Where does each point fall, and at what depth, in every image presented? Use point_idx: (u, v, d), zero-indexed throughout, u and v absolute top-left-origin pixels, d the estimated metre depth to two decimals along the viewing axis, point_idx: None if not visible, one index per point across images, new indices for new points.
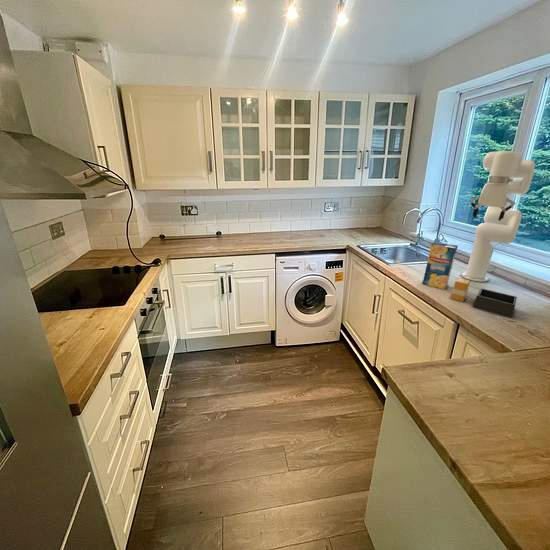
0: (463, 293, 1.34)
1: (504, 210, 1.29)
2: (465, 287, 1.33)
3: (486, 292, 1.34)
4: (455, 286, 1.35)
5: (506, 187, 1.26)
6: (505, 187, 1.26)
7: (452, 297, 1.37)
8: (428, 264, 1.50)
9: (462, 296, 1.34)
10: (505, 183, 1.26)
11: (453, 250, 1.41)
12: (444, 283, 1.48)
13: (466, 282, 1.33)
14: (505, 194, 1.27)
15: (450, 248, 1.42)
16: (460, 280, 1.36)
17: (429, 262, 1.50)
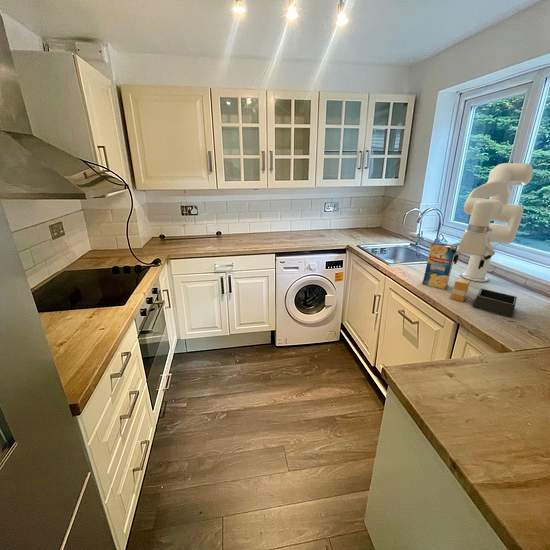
0: (463, 293, 1.34)
1: (484, 259, 1.26)
2: (465, 287, 1.33)
3: (486, 292, 1.34)
4: (455, 286, 1.35)
5: (485, 237, 1.23)
6: (484, 236, 1.23)
7: (452, 297, 1.37)
8: (428, 264, 1.50)
9: (462, 296, 1.34)
10: (484, 232, 1.23)
11: None
12: (444, 283, 1.48)
13: (466, 282, 1.33)
14: (484, 243, 1.24)
15: (450, 248, 1.42)
16: (460, 280, 1.36)
17: (429, 262, 1.50)
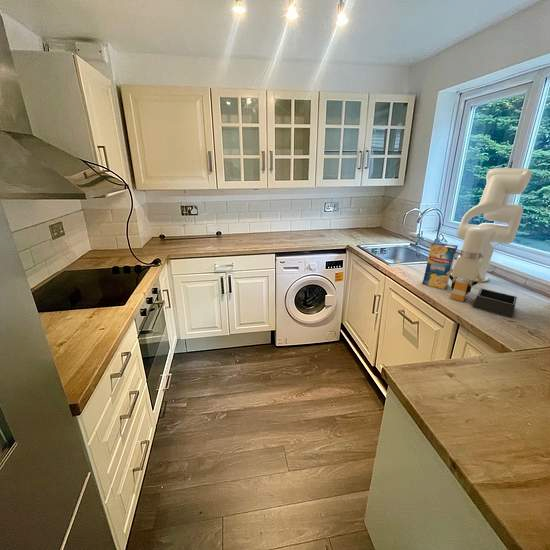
0: (463, 293, 1.34)
1: (471, 285, 1.32)
2: (465, 287, 1.33)
3: (486, 292, 1.34)
4: (455, 286, 1.35)
5: (477, 263, 1.28)
6: (476, 263, 1.28)
7: (452, 297, 1.37)
8: (428, 264, 1.50)
9: (462, 296, 1.34)
10: (476, 259, 1.27)
11: (453, 250, 1.41)
12: (444, 283, 1.48)
13: (466, 282, 1.33)
14: (477, 269, 1.28)
15: (450, 248, 1.42)
16: (460, 280, 1.36)
17: (429, 262, 1.50)
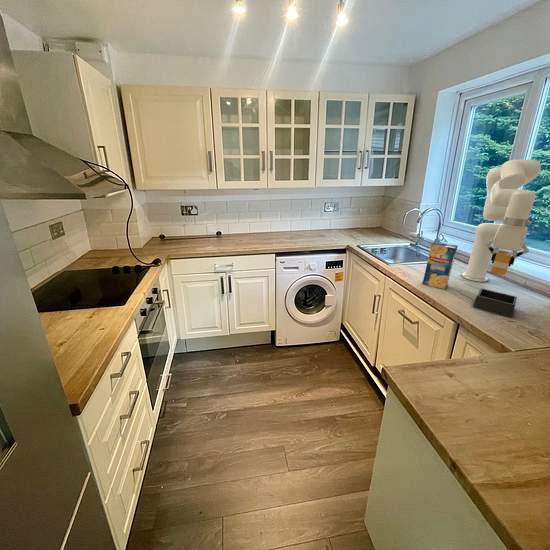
0: (506, 265, 1.20)
1: (515, 256, 1.19)
2: (508, 259, 1.19)
3: (486, 292, 1.34)
4: (496, 258, 1.22)
5: (524, 230, 1.14)
6: (523, 230, 1.14)
7: (492, 271, 1.24)
8: (428, 264, 1.50)
9: (504, 269, 1.21)
10: (523, 226, 1.14)
11: (453, 250, 1.41)
12: (444, 283, 1.48)
13: (509, 253, 1.20)
14: (523, 238, 1.15)
15: (450, 248, 1.42)
16: (502, 252, 1.22)
17: (429, 262, 1.50)
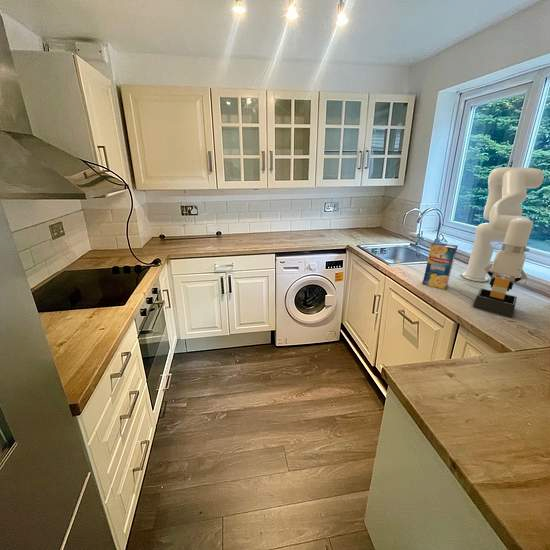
0: (504, 290, 1.23)
1: (513, 281, 1.21)
2: (507, 284, 1.22)
3: (486, 292, 1.34)
4: (495, 283, 1.24)
5: (522, 257, 1.17)
6: (521, 257, 1.17)
7: (491, 295, 1.26)
8: (428, 264, 1.50)
9: (503, 294, 1.23)
10: (521, 253, 1.17)
11: (453, 250, 1.41)
12: (444, 283, 1.48)
13: (507, 278, 1.23)
14: (521, 264, 1.18)
15: (450, 248, 1.42)
16: (500, 276, 1.25)
17: (429, 262, 1.50)
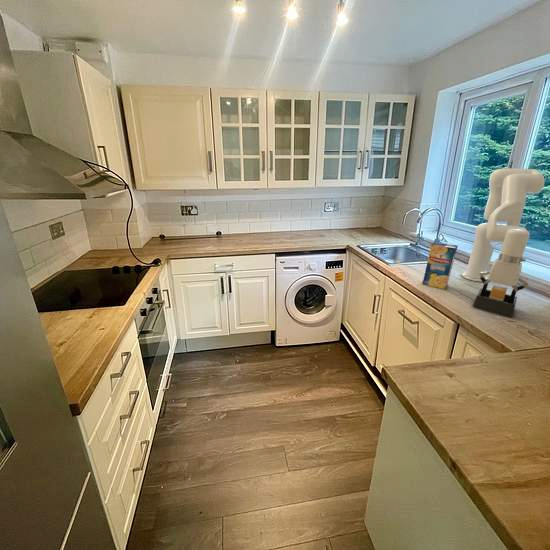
0: None
1: (516, 290, 1.22)
2: (503, 295, 1.24)
3: (486, 292, 1.34)
4: (491, 293, 1.26)
5: (518, 267, 1.19)
6: (517, 267, 1.19)
7: None
8: (428, 264, 1.50)
9: None
10: (517, 263, 1.18)
11: (453, 250, 1.41)
12: (444, 283, 1.48)
13: (504, 289, 1.24)
14: (517, 274, 1.19)
15: (450, 248, 1.42)
16: (497, 287, 1.27)
17: (429, 262, 1.50)
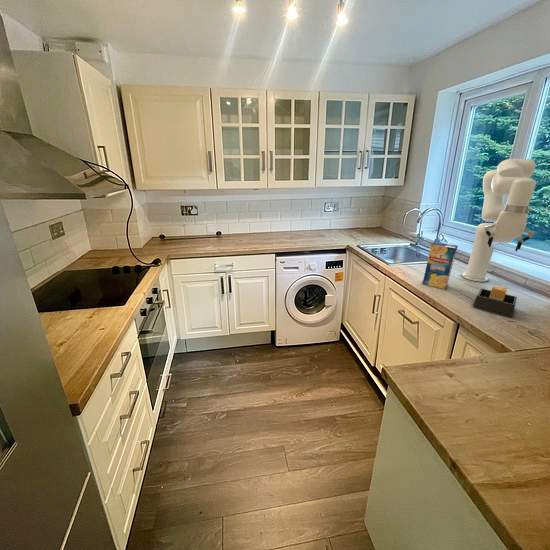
0: None
1: (522, 241, 1.21)
2: (503, 295, 1.24)
3: (486, 292, 1.34)
4: (491, 293, 1.26)
5: (524, 217, 1.18)
6: (523, 217, 1.18)
7: None
8: (428, 264, 1.50)
9: None
10: (523, 213, 1.18)
11: (453, 250, 1.41)
12: (444, 283, 1.48)
13: (504, 289, 1.24)
14: (523, 224, 1.19)
15: (450, 248, 1.42)
16: (497, 287, 1.27)
17: (429, 262, 1.50)
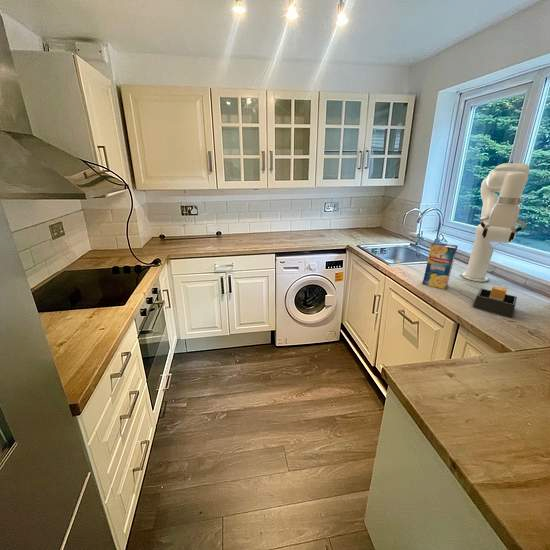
0: None
1: (514, 231, 1.27)
2: (503, 295, 1.24)
3: (486, 292, 1.34)
4: (491, 293, 1.26)
5: (517, 208, 1.24)
6: (516, 208, 1.24)
7: None
8: (428, 264, 1.50)
9: None
10: (516, 204, 1.24)
11: (453, 250, 1.41)
12: (444, 283, 1.48)
13: (504, 289, 1.24)
14: (516, 215, 1.25)
15: (450, 248, 1.42)
16: (497, 287, 1.27)
17: (429, 262, 1.50)
